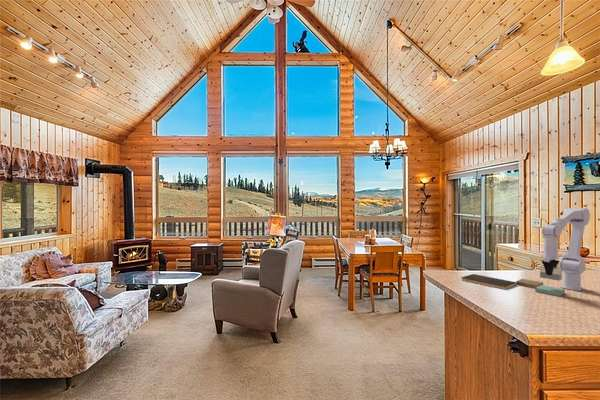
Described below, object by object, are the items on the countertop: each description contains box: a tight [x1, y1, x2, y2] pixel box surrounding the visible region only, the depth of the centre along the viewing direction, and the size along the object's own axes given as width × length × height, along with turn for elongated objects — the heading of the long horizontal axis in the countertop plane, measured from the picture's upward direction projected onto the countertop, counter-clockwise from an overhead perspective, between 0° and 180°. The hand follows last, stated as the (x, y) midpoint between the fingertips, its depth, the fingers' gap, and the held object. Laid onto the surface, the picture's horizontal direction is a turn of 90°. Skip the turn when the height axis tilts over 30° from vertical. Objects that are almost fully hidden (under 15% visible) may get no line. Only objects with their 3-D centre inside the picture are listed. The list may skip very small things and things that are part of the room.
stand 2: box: [534, 284, 566, 297], centre depth 165 cm, size 10×10×2 cm
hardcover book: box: [460, 273, 517, 290], centre depth 183 cm, size 16×23×2 cm
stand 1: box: [515, 278, 544, 289], centre depth 179 cm, size 10×10×2 cm
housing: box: [539, 264, 563, 282], centre depth 165 cm, size 8×4×6 cm, turn 39°
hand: (550, 274), depth 165 cm, fingers closed on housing, 4 cm apart
